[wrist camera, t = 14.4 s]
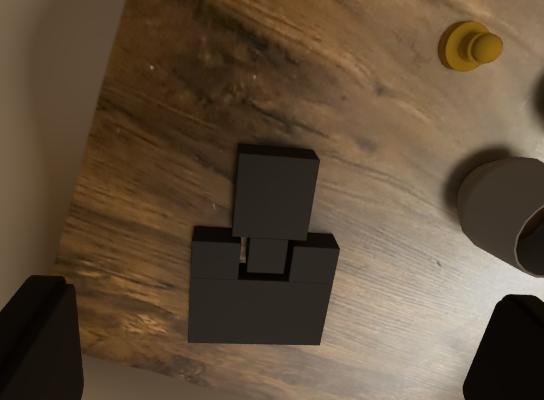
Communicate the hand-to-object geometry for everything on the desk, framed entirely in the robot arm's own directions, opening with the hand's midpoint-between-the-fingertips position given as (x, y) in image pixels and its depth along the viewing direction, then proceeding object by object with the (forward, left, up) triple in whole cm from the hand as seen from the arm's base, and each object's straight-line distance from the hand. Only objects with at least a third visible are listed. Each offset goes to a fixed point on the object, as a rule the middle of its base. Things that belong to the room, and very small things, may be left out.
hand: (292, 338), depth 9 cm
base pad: (+3, -18, -28) cm, 34 cm away
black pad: (+3, -9, -28) cm, 30 cm away
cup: (+25, -6, -28) cm, 38 cm away
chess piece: (+18, +7, -28) cm, 34 cm away
